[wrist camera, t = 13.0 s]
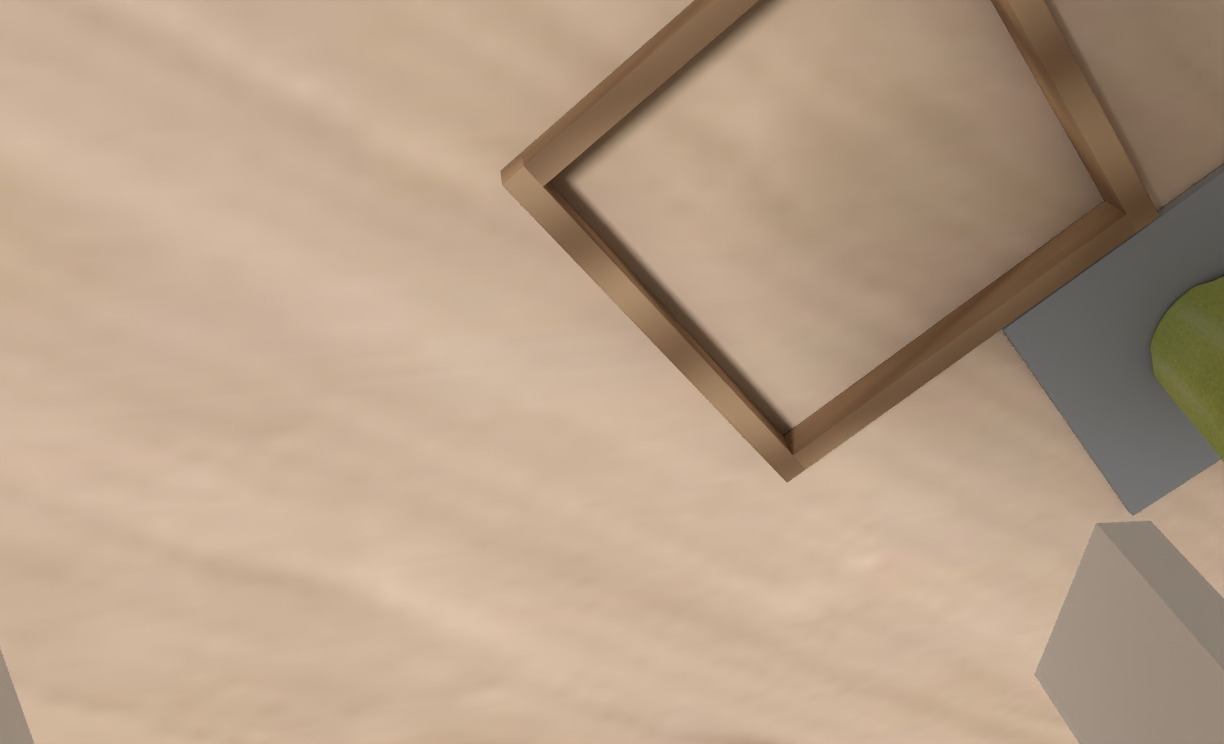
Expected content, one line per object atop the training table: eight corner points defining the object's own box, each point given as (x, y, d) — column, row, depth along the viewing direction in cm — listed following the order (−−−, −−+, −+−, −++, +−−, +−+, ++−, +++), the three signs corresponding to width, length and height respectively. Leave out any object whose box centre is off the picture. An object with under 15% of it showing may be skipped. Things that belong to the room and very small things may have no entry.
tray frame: (500, 171, 35) (502, 184, 34) (918, -197, 31) (938, -197, 30) (777, 462, 44) (786, 482, 42) (1136, 202, 40) (1159, 215, 38)
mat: (999, 325, 42) (1003, 329, 41) (1305, 105, 38) (1313, 107, 38) (1128, 510, 48) (1132, 515, 48) (1399, 335, 45) (1406, 339, 44)
